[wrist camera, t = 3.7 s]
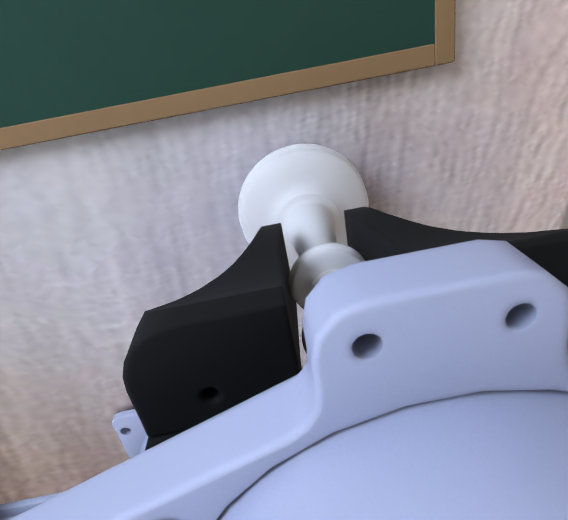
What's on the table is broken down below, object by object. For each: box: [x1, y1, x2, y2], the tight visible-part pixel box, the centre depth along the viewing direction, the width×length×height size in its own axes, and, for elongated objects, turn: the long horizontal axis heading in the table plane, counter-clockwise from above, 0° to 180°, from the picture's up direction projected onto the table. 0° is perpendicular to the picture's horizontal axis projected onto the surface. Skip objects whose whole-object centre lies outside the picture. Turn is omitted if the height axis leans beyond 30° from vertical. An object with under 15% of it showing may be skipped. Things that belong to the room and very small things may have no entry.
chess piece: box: [238, 143, 369, 353], centre depth 12 cm, size 5×5×10 cm
